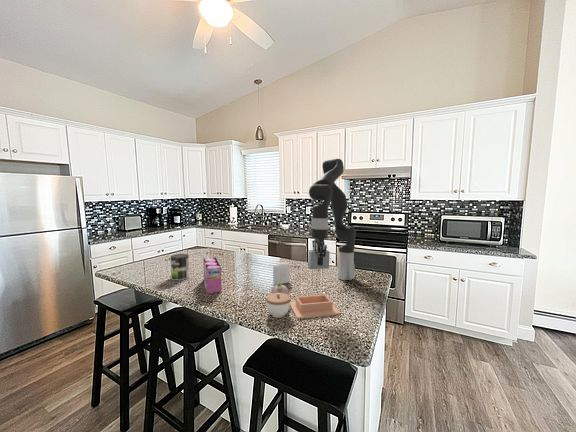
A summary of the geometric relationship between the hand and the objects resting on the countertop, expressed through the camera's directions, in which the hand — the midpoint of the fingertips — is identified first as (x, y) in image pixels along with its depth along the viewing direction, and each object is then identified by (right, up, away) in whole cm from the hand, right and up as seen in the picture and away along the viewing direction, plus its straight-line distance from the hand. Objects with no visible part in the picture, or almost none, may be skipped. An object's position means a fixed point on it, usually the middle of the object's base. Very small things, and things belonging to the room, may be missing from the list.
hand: (318, 263), depth 120 cm
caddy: (-3, -20, -1) cm, 21 cm away
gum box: (-58, -18, +28) cm, 67 cm away
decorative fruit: (-18, -20, +4) cm, 27 cm away
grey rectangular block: (0, -2, 0) cm, 2 cm away
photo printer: (-18, -18, +32) cm, 41 cm away
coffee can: (-82, -16, +40) cm, 92 cm away
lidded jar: (-19, -21, -7) cm, 29 cm away
